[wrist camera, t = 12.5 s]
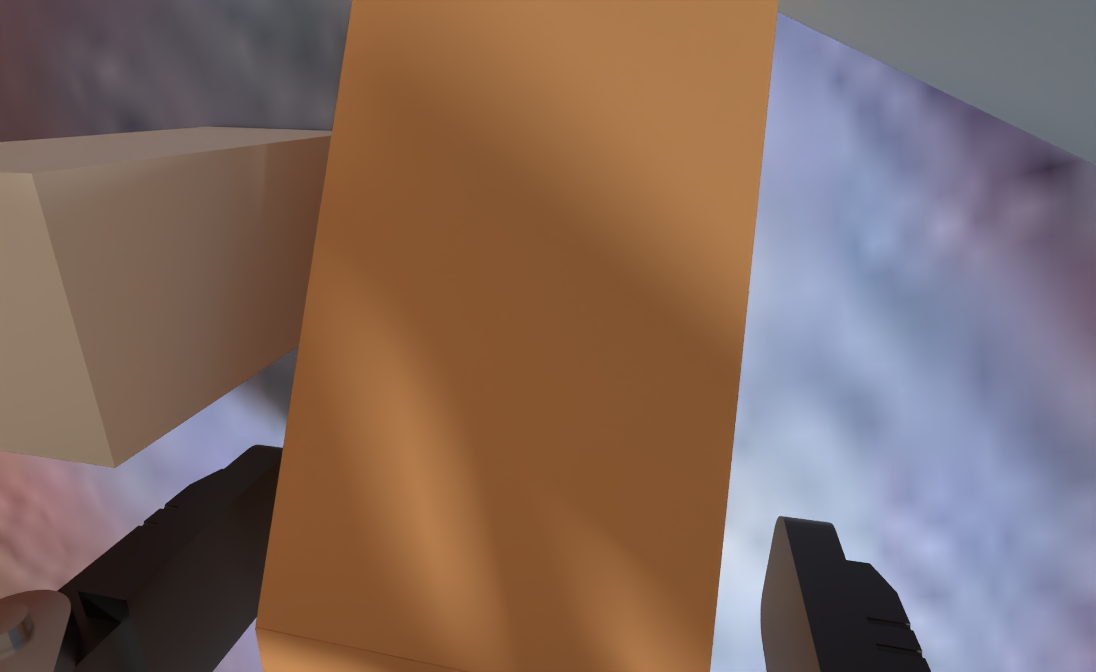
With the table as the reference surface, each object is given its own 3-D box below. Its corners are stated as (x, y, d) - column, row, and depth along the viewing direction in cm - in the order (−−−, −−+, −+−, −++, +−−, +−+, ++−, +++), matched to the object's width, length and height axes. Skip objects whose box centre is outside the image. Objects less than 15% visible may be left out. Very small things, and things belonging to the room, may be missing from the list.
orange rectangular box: (430, 2, 10) (120, -109, 4) (755, 8, 9) (868, -116, 4) (445, 550, 14) (295, 844, 9) (668, 589, 13) (661, 943, 8)
